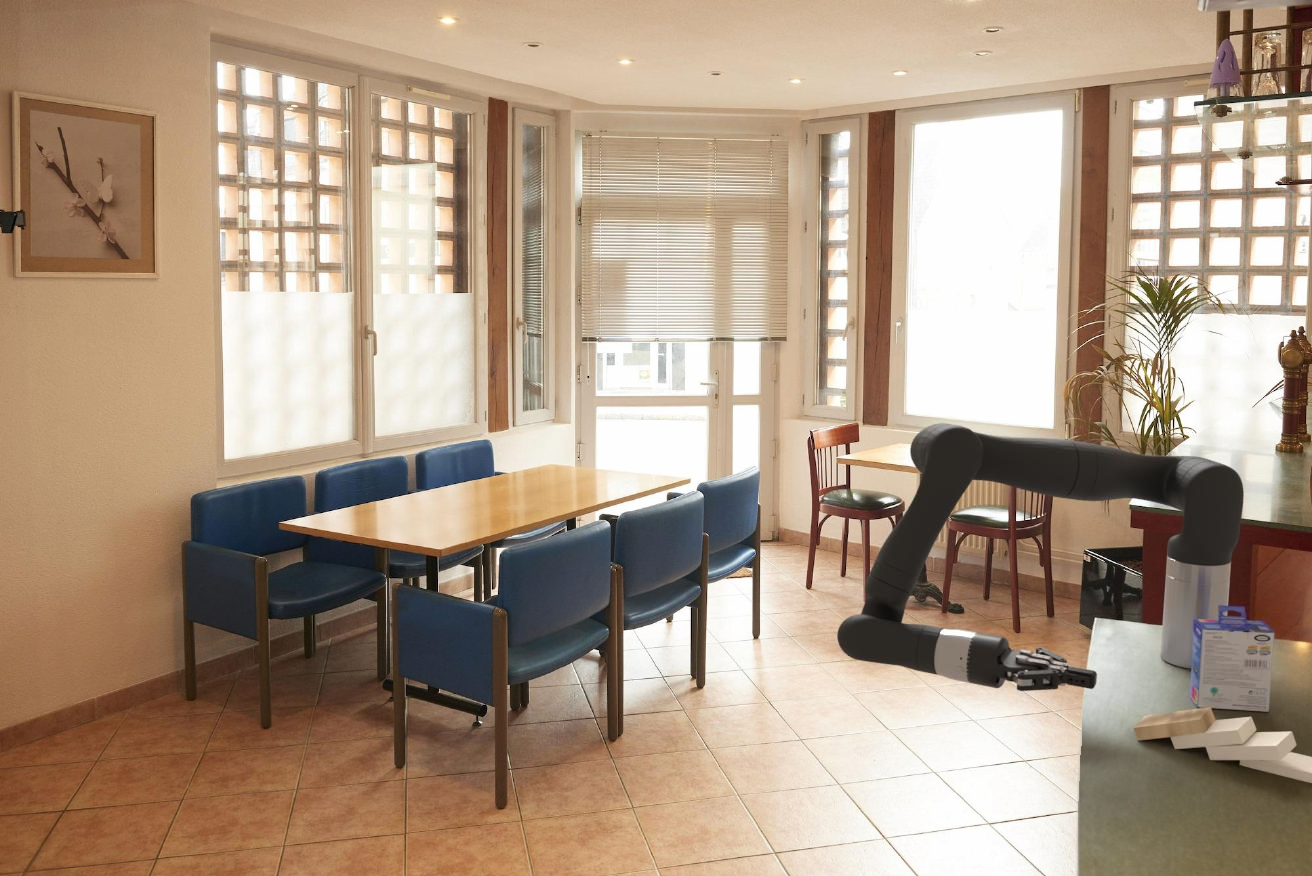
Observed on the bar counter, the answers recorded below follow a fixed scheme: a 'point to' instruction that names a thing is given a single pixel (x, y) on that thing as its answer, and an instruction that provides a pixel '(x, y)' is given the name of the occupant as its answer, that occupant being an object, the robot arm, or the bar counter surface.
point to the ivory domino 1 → (1218, 734)
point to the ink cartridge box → (1231, 662)
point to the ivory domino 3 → (1285, 766)
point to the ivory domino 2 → (1256, 747)
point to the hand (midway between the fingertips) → (1095, 680)
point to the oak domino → (1174, 724)
